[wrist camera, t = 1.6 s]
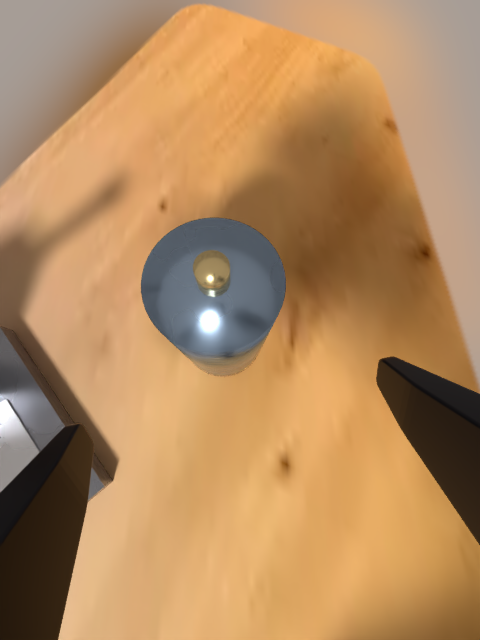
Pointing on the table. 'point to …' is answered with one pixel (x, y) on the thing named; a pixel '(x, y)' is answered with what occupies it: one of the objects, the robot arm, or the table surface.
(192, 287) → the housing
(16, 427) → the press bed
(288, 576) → the table surface
